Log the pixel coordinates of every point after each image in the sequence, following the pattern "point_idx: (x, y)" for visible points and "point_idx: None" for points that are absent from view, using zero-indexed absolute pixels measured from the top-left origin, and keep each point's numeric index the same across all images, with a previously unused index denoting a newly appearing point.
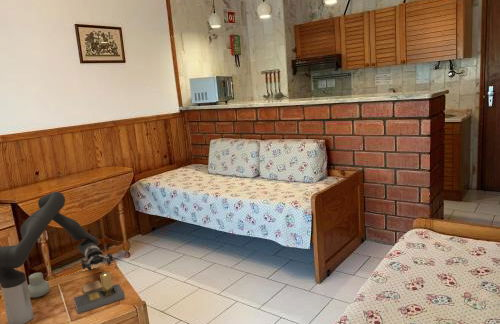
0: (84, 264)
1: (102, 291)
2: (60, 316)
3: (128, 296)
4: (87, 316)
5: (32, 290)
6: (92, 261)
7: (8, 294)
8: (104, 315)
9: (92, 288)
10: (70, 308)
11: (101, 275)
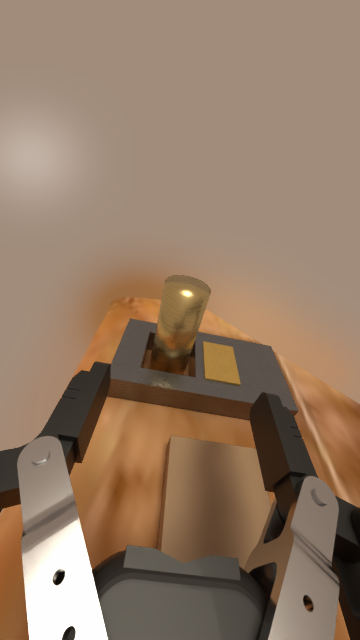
0: (353, 511)
1: (184, 377)
2: (311, 384)
3: (115, 335)
4: (237, 336)
5: None
6: (255, 583)
7: None
8: None
9: (217, 460)
10: None
11: (205, 286)
